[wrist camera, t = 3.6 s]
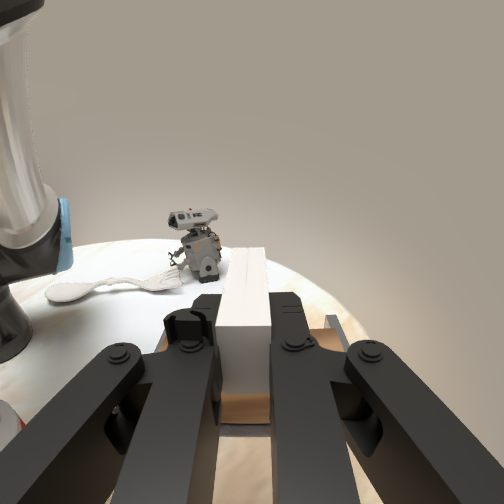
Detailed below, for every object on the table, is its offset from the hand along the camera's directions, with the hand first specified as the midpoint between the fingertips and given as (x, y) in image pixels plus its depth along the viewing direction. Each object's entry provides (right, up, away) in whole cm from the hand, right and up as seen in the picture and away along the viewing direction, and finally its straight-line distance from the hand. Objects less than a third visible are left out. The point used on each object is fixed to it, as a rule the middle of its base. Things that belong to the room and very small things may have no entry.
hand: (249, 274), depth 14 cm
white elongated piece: (-30, -8, +41) cm, 52 cm away
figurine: (-12, -4, +50) cm, 51 cm away
